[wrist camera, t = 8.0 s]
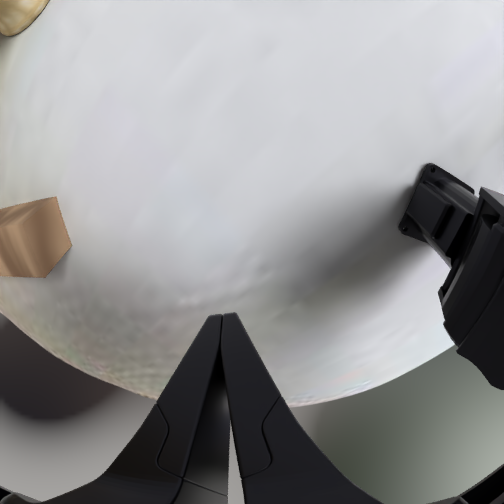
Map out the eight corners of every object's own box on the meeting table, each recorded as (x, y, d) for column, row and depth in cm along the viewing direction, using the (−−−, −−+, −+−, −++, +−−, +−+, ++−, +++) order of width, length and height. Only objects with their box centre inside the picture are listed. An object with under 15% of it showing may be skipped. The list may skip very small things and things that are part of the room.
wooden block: (22, 223, 15) (-40, 235, 15) (45, 277, 18) (-23, 274, 18) (56, 196, 19) (-14, 212, 19) (72, 245, 22) (1, 249, 22)
